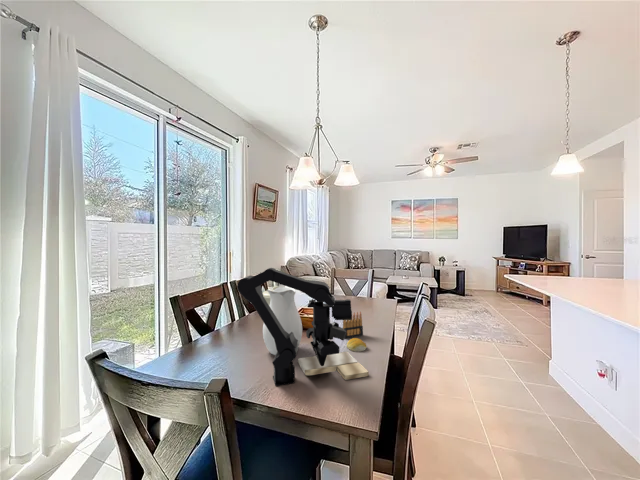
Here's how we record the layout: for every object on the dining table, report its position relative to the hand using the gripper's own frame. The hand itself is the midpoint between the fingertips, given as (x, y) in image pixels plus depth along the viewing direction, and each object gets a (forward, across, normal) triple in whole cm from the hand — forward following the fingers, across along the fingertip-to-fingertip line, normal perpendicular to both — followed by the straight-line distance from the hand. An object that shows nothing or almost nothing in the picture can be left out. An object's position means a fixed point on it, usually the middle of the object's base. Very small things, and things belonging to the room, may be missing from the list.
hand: (321, 365), depth 97 cm
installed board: (+6, +12, -6) cm, 14 cm away
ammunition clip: (+6, +36, -28) cm, 45 cm away
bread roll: (+6, +22, -24) cm, 33 cm away
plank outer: (+5, +2, -12) cm, 13 cm away
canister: (+6, +70, +4) cm, 71 cm away
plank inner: (+4, +2, 0) cm, 4 cm away
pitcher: (+6, +32, +6) cm, 34 cm away
